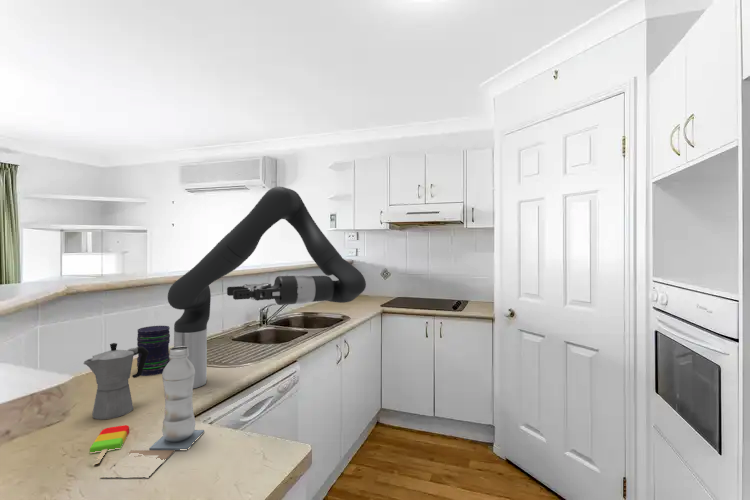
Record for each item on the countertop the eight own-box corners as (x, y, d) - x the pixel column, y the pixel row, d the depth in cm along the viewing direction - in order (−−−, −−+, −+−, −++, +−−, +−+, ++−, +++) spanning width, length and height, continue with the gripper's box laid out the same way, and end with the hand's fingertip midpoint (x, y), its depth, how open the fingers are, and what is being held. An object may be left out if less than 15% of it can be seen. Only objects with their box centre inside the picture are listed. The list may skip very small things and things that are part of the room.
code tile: (131, 452, 79) (131, 450, 79) (174, 452, 79) (174, 450, 79) (100, 478, 70) (100, 476, 70) (148, 478, 70) (148, 476, 70)
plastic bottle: (182, 447, 79) (182, 353, 79) (154, 444, 81) (154, 351, 81) (201, 433, 86) (202, 345, 86) (175, 430, 87) (176, 343, 87)
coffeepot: (93, 426, 90) (93, 351, 90) (74, 417, 95) (74, 346, 95) (157, 403, 103) (157, 338, 103) (138, 397, 108) (138, 334, 108)
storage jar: (175, 367, 135) (176, 325, 135) (157, 376, 125) (157, 331, 125) (150, 366, 136) (150, 325, 136) (129, 375, 126) (130, 331, 126)
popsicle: (130, 431, 88) (130, 423, 88) (113, 465, 75) (112, 456, 75) (102, 436, 86) (102, 427, 86) (79, 471, 72) (79, 462, 72)
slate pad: (169, 432, 87) (169, 429, 87) (204, 432, 87) (204, 429, 87) (149, 450, 79) (149, 448, 79) (187, 450, 79) (187, 448, 79)
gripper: (286, 274, 106) (225, 275, 97) (304, 277, 93) (235, 279, 85) (286, 300, 106) (225, 304, 97) (303, 307, 93) (235, 312, 85)
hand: (230, 293), depth 91 cm, fingers open, 8 cm apart
